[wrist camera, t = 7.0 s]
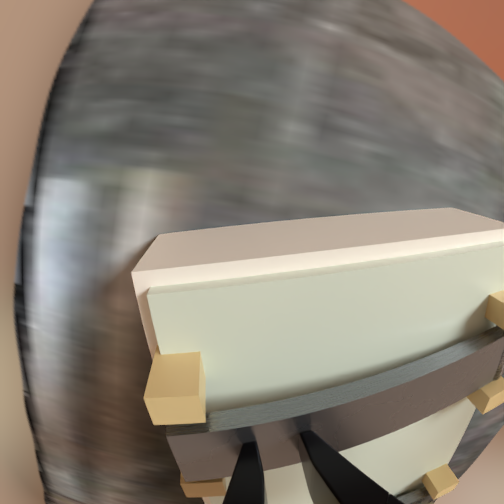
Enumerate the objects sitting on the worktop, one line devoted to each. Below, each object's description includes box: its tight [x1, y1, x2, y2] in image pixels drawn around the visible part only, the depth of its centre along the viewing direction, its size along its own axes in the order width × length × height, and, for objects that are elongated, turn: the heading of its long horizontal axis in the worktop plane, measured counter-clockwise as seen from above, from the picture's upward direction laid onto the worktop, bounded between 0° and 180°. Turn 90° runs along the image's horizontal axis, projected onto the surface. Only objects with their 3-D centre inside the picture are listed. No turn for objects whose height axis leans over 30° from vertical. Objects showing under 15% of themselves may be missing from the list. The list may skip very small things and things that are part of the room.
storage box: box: [131, 208, 504, 504], centre depth 14 cm, size 22×15×8 cm
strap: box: [166, 325, 504, 482], centre depth 9 cm, size 14×2×1 cm, turn 95°
